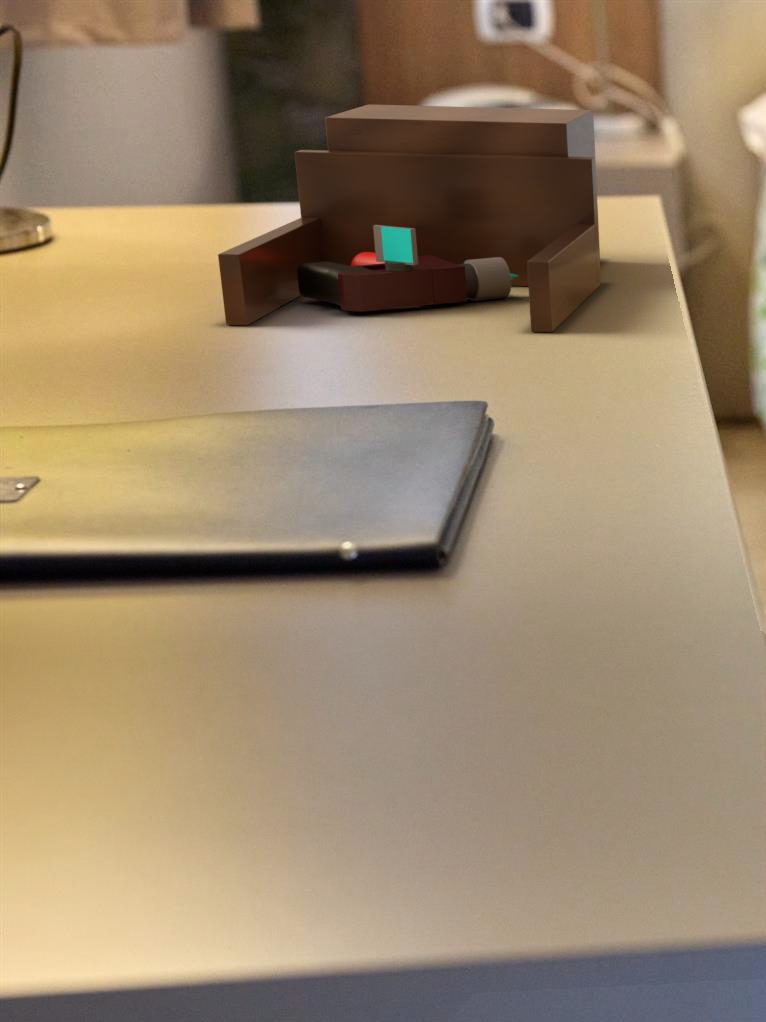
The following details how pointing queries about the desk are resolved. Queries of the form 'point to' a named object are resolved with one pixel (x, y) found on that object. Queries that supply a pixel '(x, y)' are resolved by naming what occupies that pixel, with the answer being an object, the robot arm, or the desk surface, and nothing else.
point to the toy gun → (402, 276)
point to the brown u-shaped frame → (439, 202)
